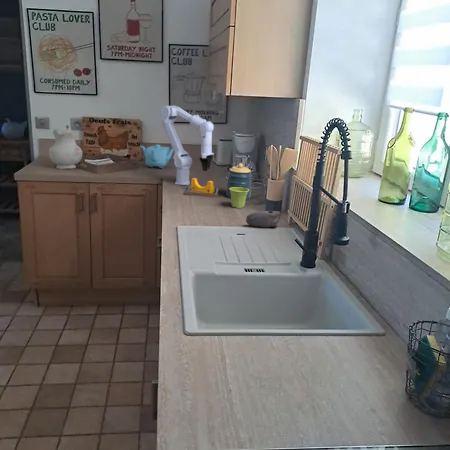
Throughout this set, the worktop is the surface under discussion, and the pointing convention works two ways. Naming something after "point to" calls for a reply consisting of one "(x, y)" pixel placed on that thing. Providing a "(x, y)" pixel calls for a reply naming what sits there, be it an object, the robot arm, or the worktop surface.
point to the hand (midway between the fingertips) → (206, 169)
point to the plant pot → (238, 196)
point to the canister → (239, 179)
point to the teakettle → (157, 155)
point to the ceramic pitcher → (65, 149)
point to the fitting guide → (201, 193)
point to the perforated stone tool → (264, 218)
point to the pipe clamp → (197, 187)
